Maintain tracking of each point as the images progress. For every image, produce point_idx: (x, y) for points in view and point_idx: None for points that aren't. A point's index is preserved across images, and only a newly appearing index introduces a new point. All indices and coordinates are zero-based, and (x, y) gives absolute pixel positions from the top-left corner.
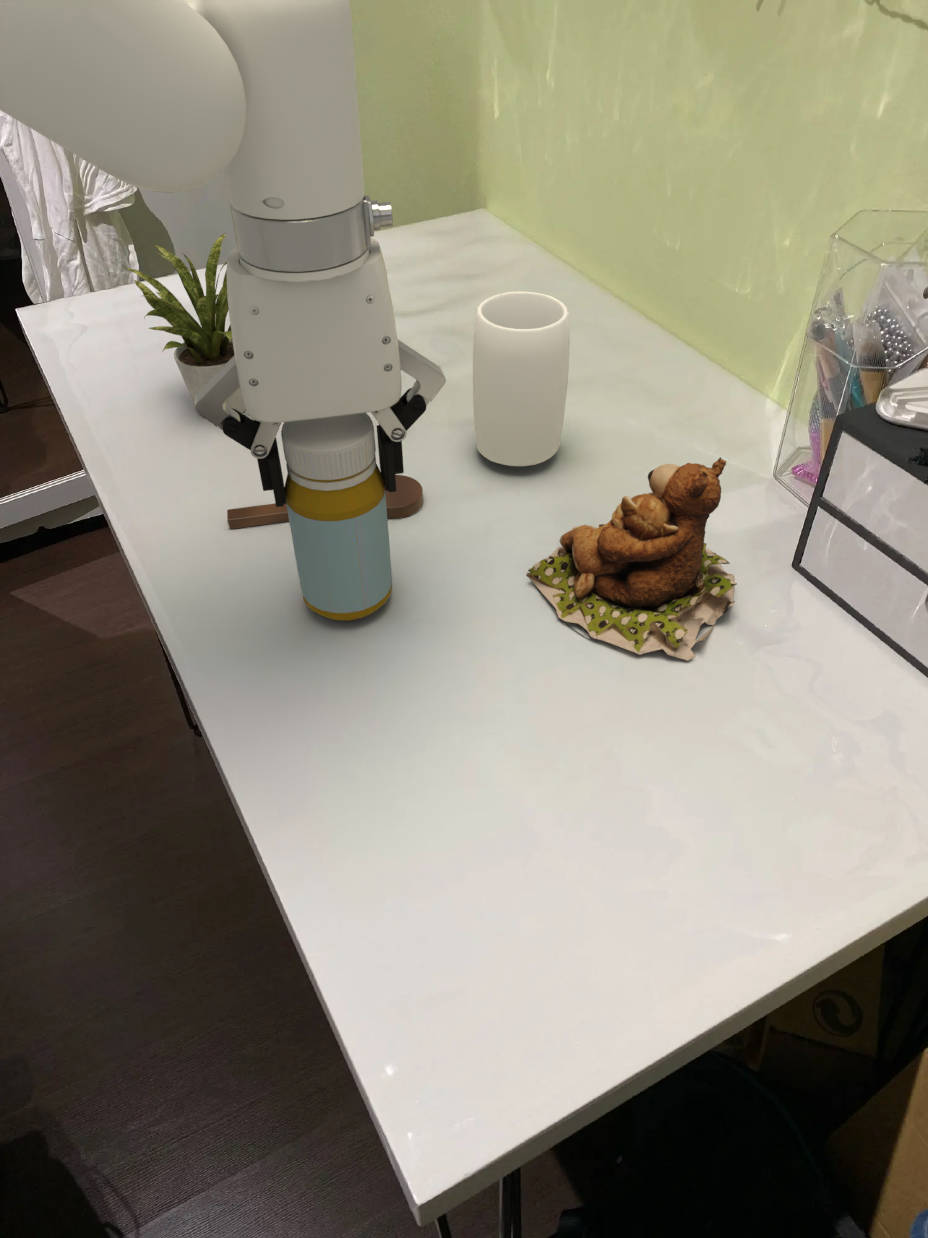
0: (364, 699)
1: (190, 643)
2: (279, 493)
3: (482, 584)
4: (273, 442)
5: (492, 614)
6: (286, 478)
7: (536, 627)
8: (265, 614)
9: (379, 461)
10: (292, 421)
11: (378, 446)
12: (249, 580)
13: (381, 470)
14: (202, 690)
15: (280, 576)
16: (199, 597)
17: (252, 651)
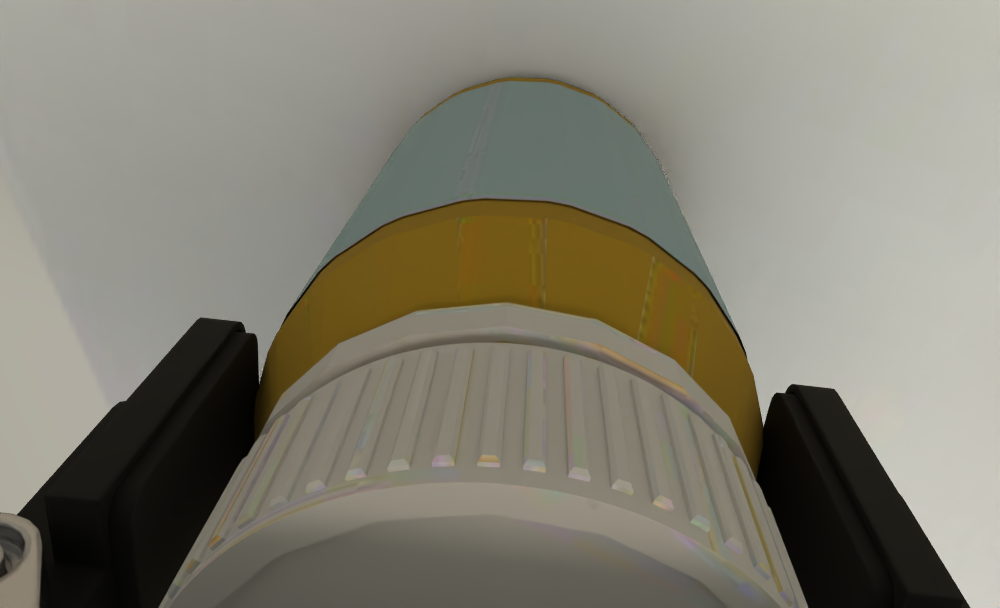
0: None
1: (67, 233)
2: None
3: (931, 270)
4: (112, 593)
5: (888, 389)
6: (256, 436)
7: (967, 464)
8: (274, 186)
9: (788, 408)
10: (227, 604)
11: (816, 490)
12: (228, 6)
13: (768, 457)
14: (116, 396)
15: (331, 19)
16: (69, 40)
17: (235, 314)
